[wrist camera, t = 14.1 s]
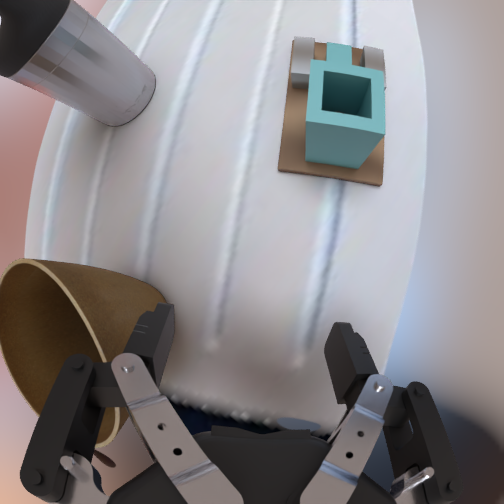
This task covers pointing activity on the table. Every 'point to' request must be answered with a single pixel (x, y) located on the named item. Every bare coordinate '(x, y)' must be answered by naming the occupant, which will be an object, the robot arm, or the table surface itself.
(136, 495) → the robot arm
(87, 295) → the plant pot
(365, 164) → the base
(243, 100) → the table surface
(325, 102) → the link
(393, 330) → the table surface
